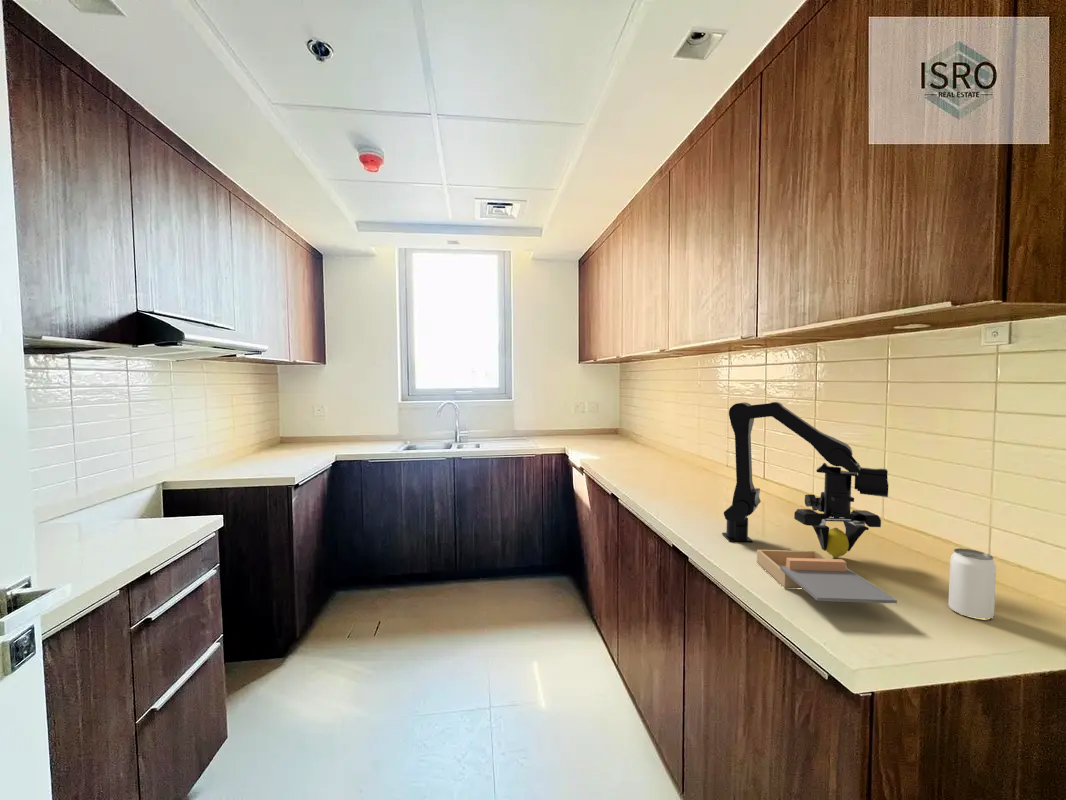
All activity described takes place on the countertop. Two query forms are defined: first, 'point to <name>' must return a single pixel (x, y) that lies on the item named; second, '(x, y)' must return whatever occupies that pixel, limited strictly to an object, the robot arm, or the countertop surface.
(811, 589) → the lid
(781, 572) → the box
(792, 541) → the countertop surface
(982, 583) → the can
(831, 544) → the lemon
